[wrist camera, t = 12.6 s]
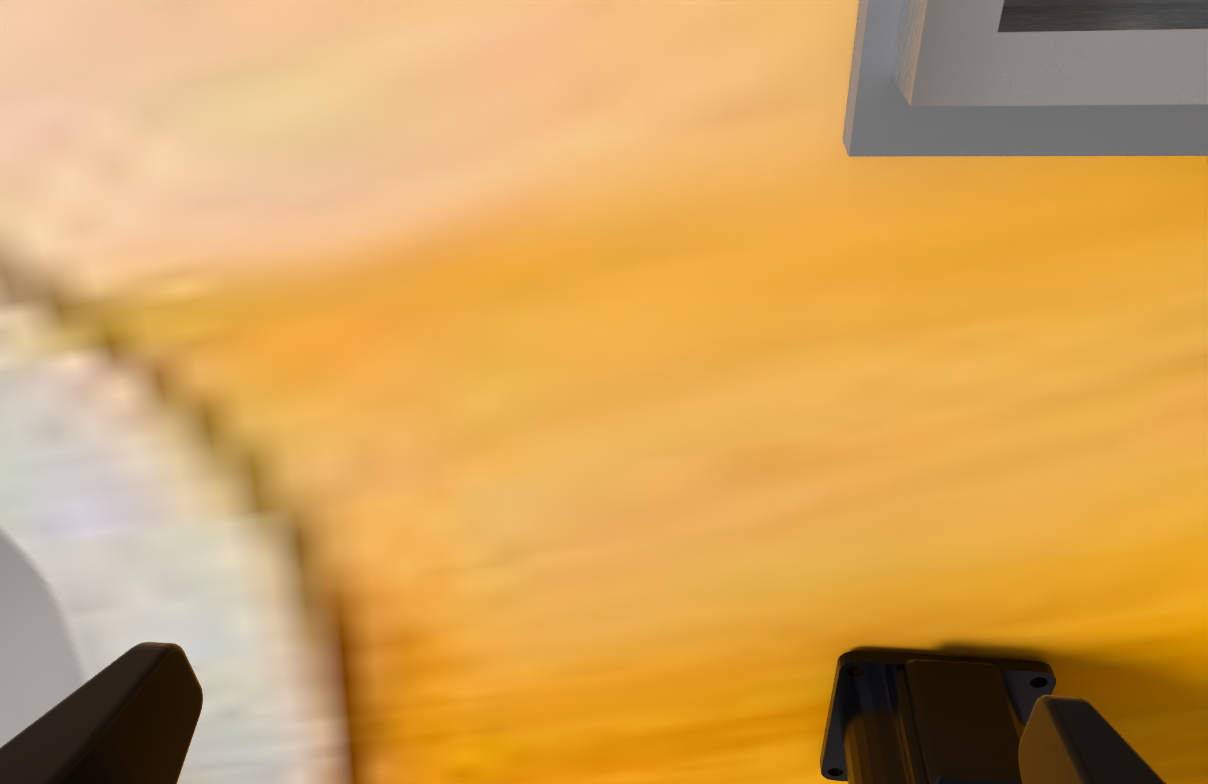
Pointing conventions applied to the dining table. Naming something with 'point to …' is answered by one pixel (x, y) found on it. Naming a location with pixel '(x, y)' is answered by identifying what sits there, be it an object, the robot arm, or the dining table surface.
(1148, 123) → the socket
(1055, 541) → the dining table surface
